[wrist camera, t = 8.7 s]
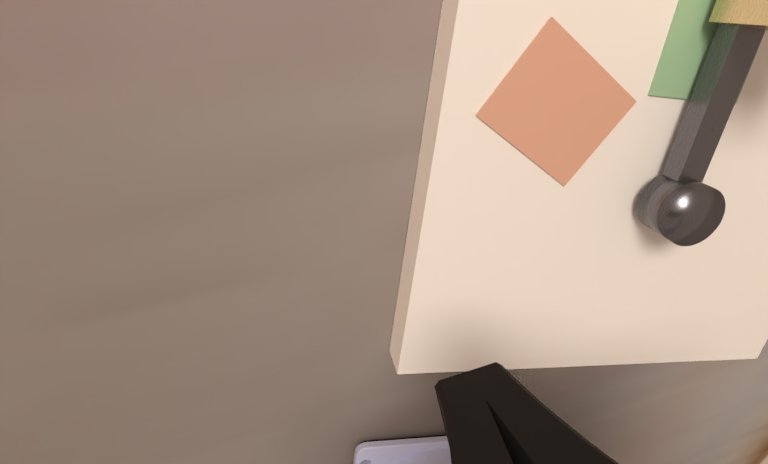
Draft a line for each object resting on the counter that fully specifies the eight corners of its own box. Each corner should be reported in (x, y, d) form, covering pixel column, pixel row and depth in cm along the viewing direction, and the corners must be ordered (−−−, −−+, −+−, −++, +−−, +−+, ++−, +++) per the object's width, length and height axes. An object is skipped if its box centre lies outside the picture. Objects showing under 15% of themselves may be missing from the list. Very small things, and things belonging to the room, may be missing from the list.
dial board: (731, 339, 25) (759, 359, 24) (389, 350, 21) (398, 375, 20) (902, -6, 19) (953, -6, 17) (456, -88, 15) (476, -96, 13)
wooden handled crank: (677, 228, 19) (802, 301, 15) (628, 226, 19) (742, 301, 14) (787, -39, 15) (1000, -52, 11) (730, -52, 15) (929, -70, 10)
